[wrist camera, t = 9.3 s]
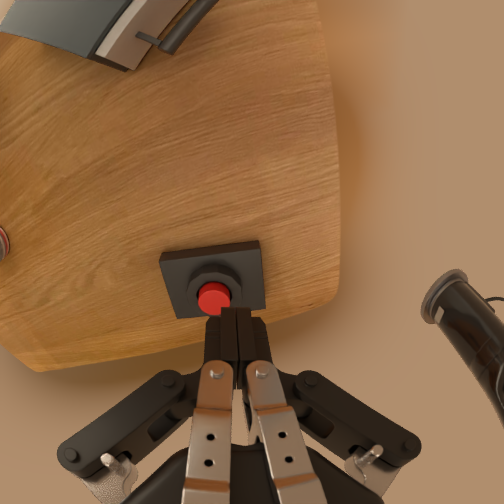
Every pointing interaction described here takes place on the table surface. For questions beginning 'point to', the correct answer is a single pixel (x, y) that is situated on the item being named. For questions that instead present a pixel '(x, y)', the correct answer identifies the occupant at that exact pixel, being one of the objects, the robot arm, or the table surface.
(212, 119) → the table surface
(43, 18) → the cabinet
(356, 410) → the robot arm
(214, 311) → the button
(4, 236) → the pill bottle
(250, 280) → the control block
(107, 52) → the drawer
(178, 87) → the table surface
